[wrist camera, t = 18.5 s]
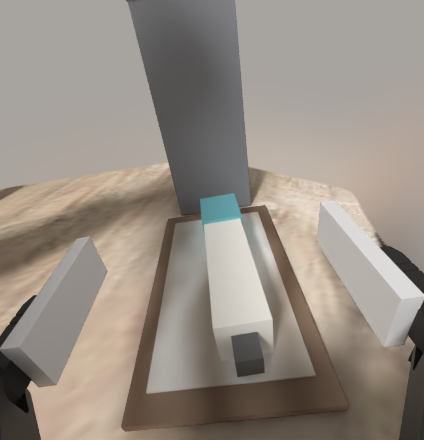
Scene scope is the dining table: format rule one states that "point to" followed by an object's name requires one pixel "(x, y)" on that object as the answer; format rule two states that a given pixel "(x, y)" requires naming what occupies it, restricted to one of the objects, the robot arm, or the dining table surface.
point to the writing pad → (207, 348)
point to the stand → (196, 95)
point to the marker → (235, 288)
